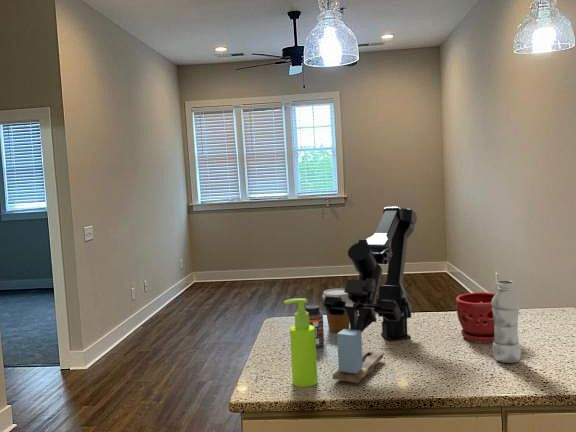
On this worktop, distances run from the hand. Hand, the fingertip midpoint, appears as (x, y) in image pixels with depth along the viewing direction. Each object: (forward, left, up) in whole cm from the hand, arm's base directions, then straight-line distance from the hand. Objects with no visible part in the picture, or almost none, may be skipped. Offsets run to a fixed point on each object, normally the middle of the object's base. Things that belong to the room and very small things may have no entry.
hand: (353, 338), depth 124 cm
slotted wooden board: (-2, -2, -9) cm, 10 cm away
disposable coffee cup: (-14, -36, -9) cm, 39 cm away
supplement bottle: (-1, -26, -9) cm, 27 cm away
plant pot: (-45, -8, -9) cm, 46 cm away
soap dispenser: (+12, -3, -9) cm, 16 cm away
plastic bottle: (-38, +9, -9) cm, 40 cm away
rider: (+2, +1, -8) cm, 8 cm away
